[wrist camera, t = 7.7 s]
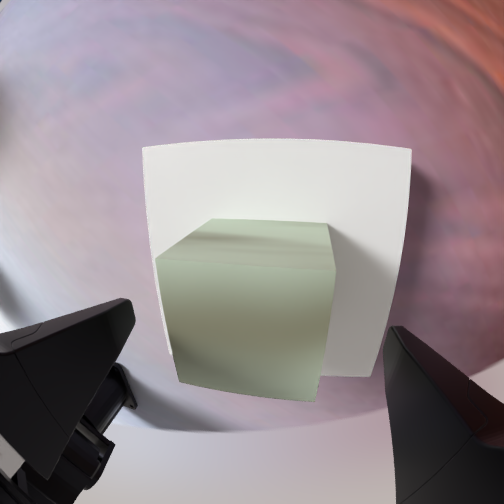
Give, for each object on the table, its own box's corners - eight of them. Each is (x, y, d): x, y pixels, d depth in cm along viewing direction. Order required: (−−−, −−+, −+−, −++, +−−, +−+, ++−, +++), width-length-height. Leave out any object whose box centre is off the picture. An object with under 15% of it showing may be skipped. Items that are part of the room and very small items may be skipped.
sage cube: (317, 324, 13) (314, 401, 8) (218, 314, 14) (179, 382, 9) (326, 223, 11) (336, 270, 7) (212, 218, 12) (154, 258, 8)
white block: (364, 345, 16) (370, 376, 14) (187, 328, 19) (169, 354, 16) (392, 149, 12) (411, 149, 10) (171, 146, 15) (142, 147, 12)
